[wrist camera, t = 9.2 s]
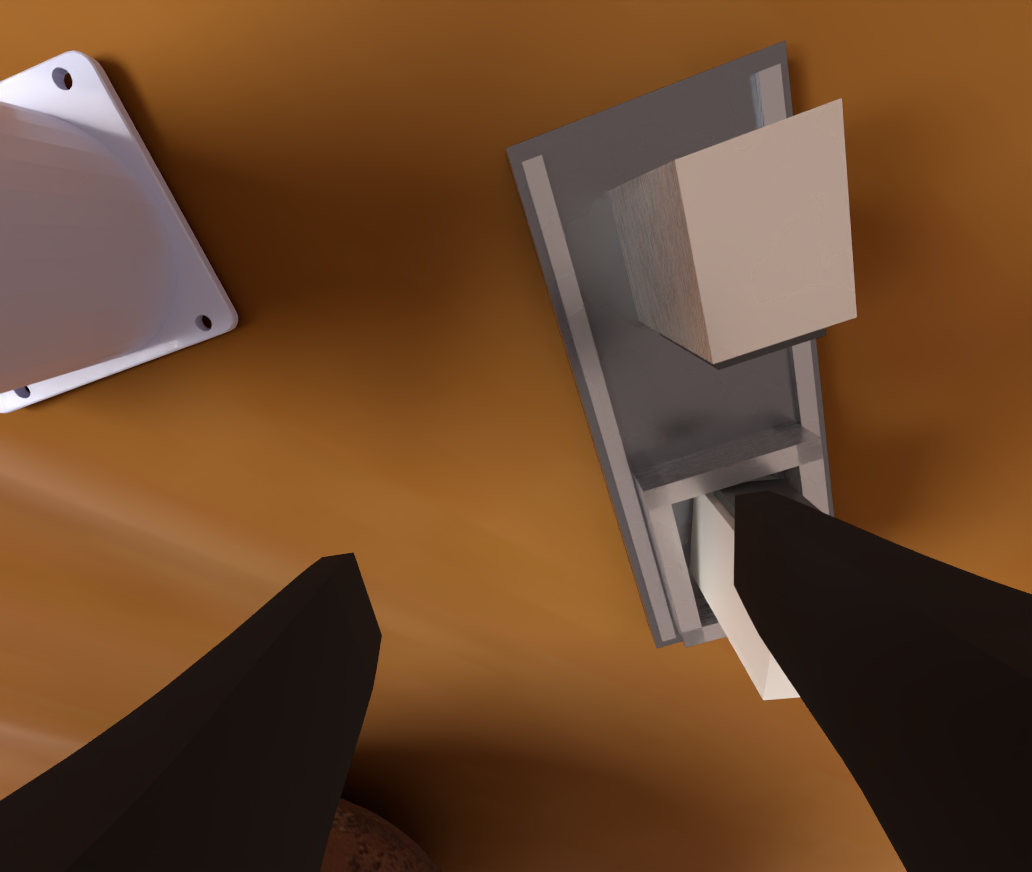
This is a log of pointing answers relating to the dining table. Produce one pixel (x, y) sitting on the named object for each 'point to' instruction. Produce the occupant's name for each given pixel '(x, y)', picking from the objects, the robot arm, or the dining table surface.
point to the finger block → (717, 579)
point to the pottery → (370, 844)
